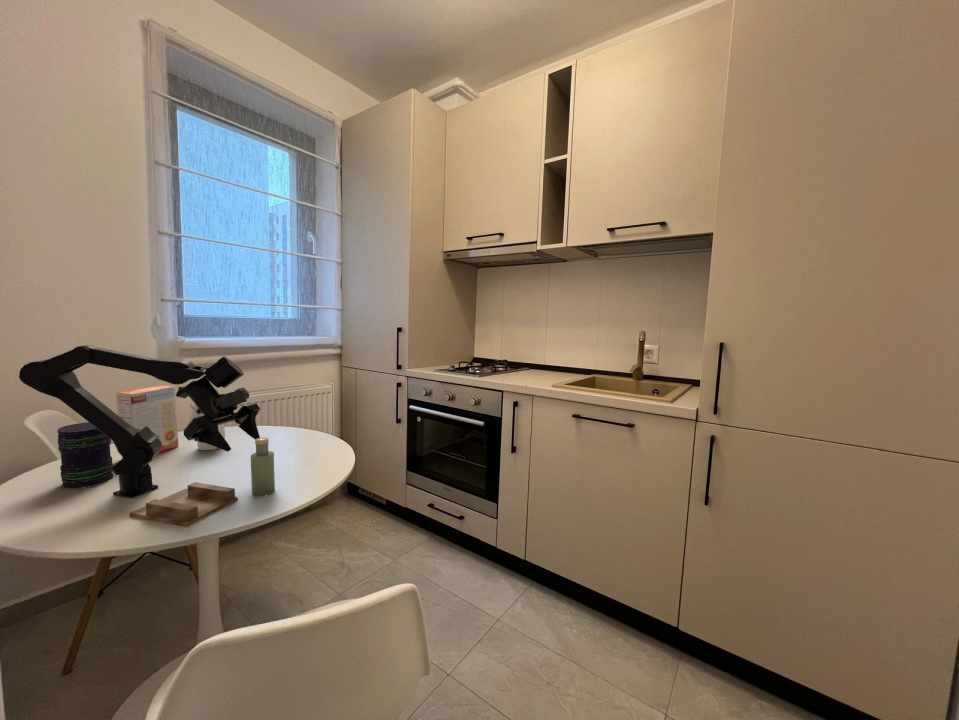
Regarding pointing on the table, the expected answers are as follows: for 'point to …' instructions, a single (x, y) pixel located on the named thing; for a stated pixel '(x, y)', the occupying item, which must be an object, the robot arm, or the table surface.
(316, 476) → the table surface
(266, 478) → the olive bottle
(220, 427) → the milk bottle
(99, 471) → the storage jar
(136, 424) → the cracker box
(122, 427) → the robot arm
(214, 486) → the walnut U-rest
